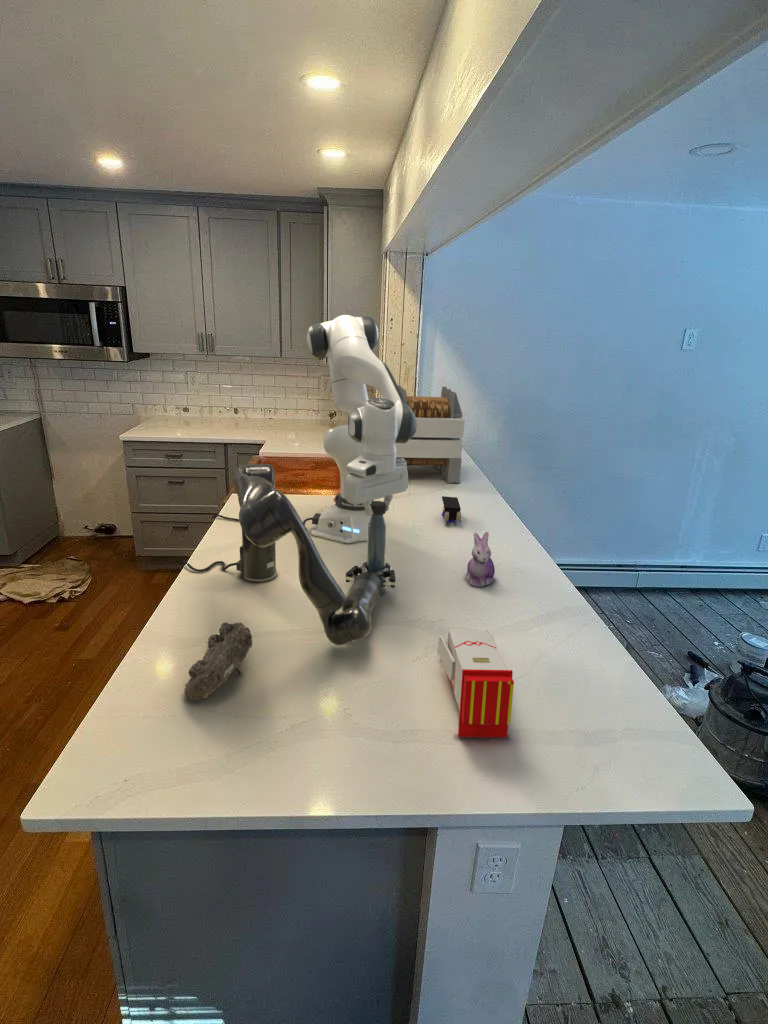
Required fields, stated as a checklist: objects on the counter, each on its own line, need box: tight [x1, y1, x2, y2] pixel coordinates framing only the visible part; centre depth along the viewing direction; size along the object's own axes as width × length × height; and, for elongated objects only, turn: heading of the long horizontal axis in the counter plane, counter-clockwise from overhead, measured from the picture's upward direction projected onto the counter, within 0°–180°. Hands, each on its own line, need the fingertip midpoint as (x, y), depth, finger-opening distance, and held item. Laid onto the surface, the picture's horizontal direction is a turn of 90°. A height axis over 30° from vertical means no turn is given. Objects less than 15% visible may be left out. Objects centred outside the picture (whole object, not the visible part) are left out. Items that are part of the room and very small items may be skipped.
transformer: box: [395, 384, 465, 484], centre depth 268 cm, size 34×33×41 cm
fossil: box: [183, 622, 253, 701], centre depth 120 cm, size 22×10×15 cm
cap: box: [370, 500, 387, 516], centre depth 151 cm, size 4×4×2 cm
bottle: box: [366, 514, 387, 595], centre depth 155 cm, size 5×5×25 cm
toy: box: [437, 628, 515, 738], centre depth 117 cm, size 12×13×30 cm
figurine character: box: [441, 495, 462, 526], centre depth 214 cm, size 7×8×15 cm
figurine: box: [466, 531, 496, 587], centre depth 165 cm, size 9×10×15 cm
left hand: (377, 565), depth 159 cm, fingers closed on bottle, 5 cm apart
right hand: (377, 513), depth 151 cm, fingers closed on cap, 4 cm apart
